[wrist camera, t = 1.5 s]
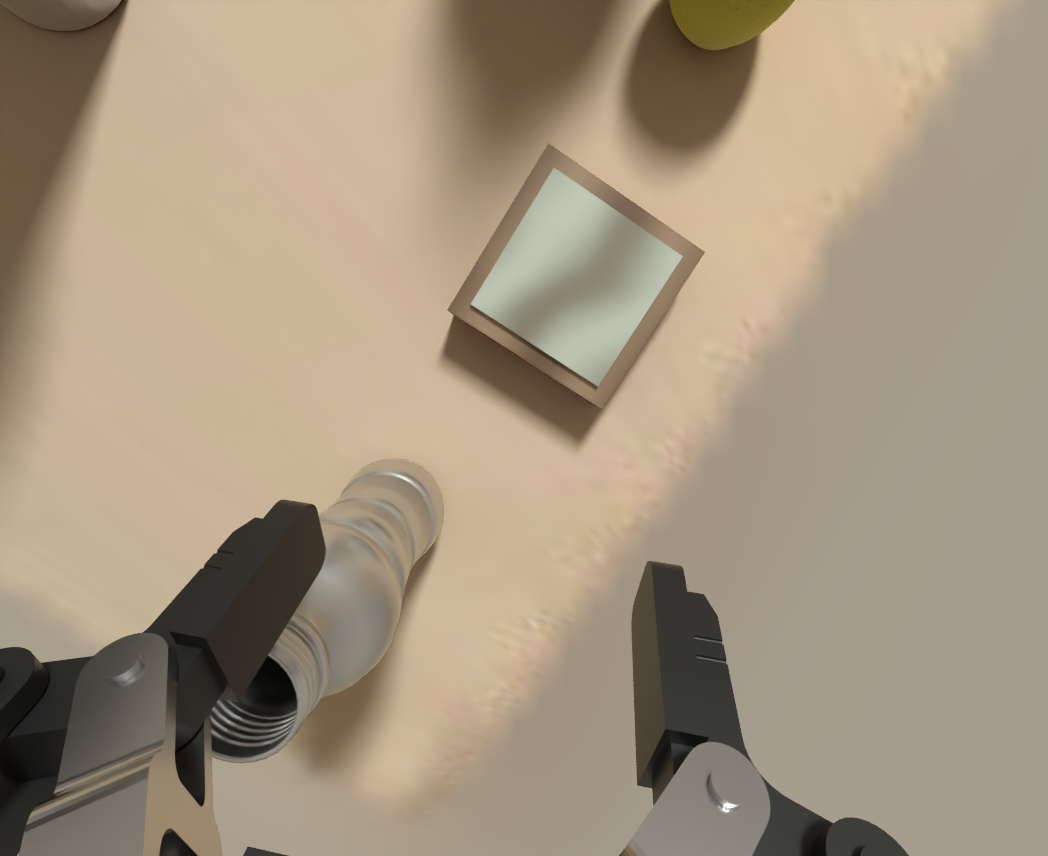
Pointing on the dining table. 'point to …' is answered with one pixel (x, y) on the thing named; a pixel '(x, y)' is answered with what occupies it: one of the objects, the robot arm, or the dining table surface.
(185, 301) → the dining table surface
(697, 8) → the apple
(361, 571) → the plastic bottle
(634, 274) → the walnut base
